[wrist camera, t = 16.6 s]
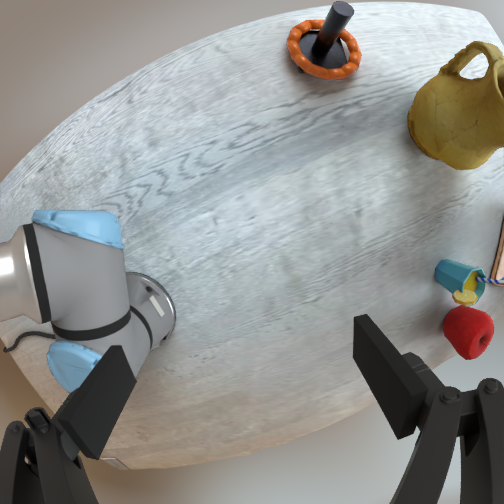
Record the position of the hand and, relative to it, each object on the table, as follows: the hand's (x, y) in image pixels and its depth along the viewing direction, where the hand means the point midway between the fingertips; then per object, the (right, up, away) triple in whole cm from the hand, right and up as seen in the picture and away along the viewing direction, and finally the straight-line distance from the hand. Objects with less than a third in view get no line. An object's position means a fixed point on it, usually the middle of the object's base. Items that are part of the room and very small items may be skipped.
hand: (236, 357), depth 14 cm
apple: (+48, -10, +37) cm, 61 cm away
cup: (+42, +2, +34) cm, 54 cm away
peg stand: (+13, +41, +24) cm, 49 cm away
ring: (+13, +40, +22) cm, 48 cm away
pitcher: (+36, +31, +27) cm, 55 cm away
